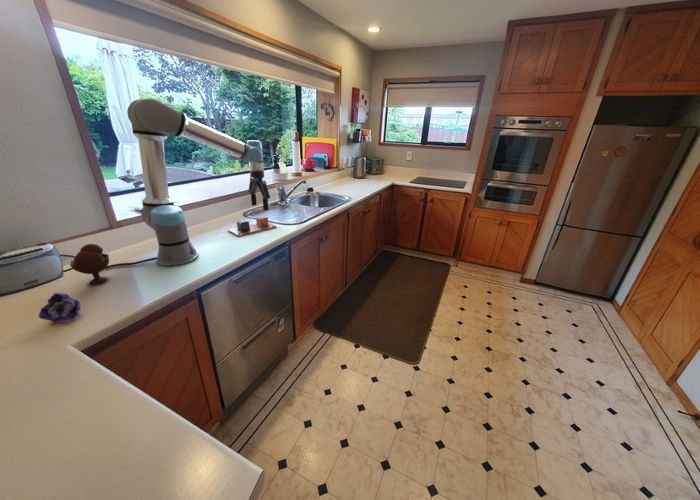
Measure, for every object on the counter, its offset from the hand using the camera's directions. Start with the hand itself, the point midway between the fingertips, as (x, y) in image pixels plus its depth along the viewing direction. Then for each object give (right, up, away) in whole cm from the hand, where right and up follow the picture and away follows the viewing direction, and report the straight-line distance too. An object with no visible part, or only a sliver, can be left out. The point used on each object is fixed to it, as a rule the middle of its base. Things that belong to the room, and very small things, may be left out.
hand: (260, 207), depth 163 cm
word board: (-4, -13, +1) cm, 13 cm away
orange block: (0, -10, +5) cm, 11 cm away
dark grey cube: (-8, -13, -3) cm, 16 cm away
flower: (-36, -46, -76) cm, 96 cm away
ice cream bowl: (-43, -37, -57) cm, 80 cm away
